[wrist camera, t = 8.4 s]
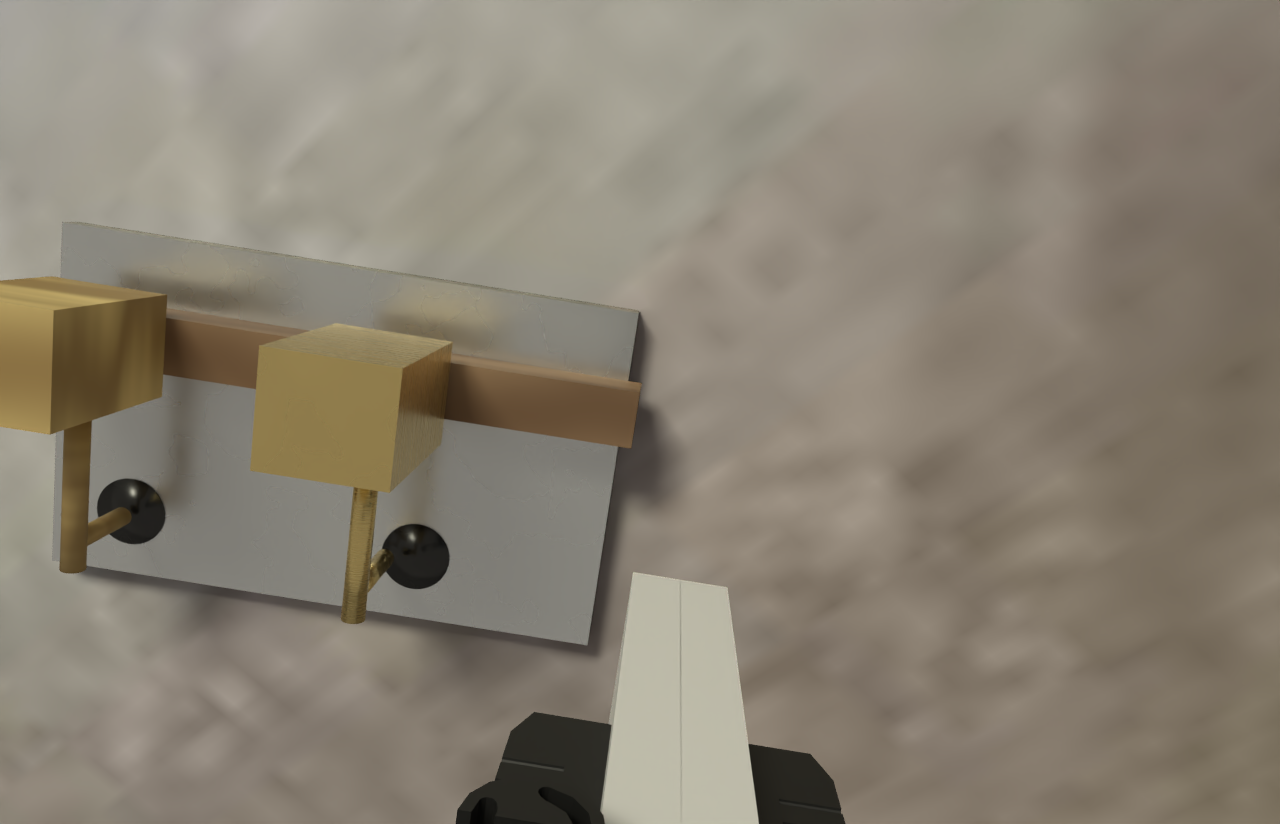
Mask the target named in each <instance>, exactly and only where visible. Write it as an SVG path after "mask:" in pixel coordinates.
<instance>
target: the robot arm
mask: <svg viewBox="0 0 1280 824" xmlns="http://www.w3.org/2000/svg"><path fill="white" fill-rule="evenodd" d="M456 824H845V821H844V817H843V814H841V807H840V803H839V799H838V796H837V792H836V789H835V785H834V781H833V780H832V779H831V777H830V776H829V775H828V774H827V773H826V772H825V770H824V769H823V768H822V767H821V766H820V765H819V764H818V762H817V761H816V760H815V759H814V758H813V757H812V755H811V754H807V753H801V752H795V751H789V750H782V749H776V748H770V747H764V746H758V745H752V744H748V738H747V731H746V724H745V716H744V709H743V701H742V694H741V686H740V679H739V671H738V664H737V656H736V649H735V641H734V634H733V627H732V619H731V612H730V604H729V597H728V589H727V587H722V586H716V585H709V584H703V583H697V582H691V581H685V580H678V579H672V578H666V577H660V576H654V575H647V574H641V573H635V572H633V577H632V583H631V589H630V595H629V601H628V607H627V614H626V620H625V626H624V632H623V638H622V644H621V651H620V657H619V663H618V669H617V675H616V681H615V688H614V694H613V700H612V706H611V712H610V719H609V724H604V723H598V722H592V721H586V720H580V719H573V718H567V717H561V716H555V715H549V714H543V713H537V712H534V713H533V714H531V715H530V716H529V717H528V718H527V719H525V720H524V721H523V722H522V723H520V724H519V725H518V726H517V727H516V728H514V729H513V730H512V731H511V732H510V736H509V739H508V742H507V745H506V748H505V751H504V754H503V757H502V762H501V763H500V766H499V769H498V772H497V775H496V778H495V781H492V782H489V783H487V784H485V785H483V786H482V787H480V788H478V789H476V790H474V791H473V792H471V793H469V795H468V796H467V797H466V799H465V800H464V802H463V803H462V804H461V806H460V807H459V808H458V810H457V818H456Z"/></svg>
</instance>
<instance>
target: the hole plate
mask: <svg viewBox="0 0 1280 824" xmlns="http://www.w3.org/2000/svg"><path fill="white" fill-rule="evenodd" d="M61 278H65V279H71V280H78V281H84V282H90V283H97V284H103V285H109V286H116V287H122V288H128V289H135V290H141V291H147V292H153V293H160V294H166V295H167V308H170V309H177V310H183V311H189V312H195V313H202V314H208V315H214V316H221V317H227V318H233V319H240V320H246V321H252V322H259V323H265V324H271V325H278V326H284V327H290V328H297V329H303V330H309V331H311V330H315V329H318V328H322V327H325V326H328V325H332V324H335V323H338V324H344V325H350V326H357V327H363V328H369V329H376V330H382V331H388V332H395V333H401V334H407V335H413V336H420V337H426V338H432V339H439V340H445V341H451V342H453V345H452V353H454V354H461V355H467V356H473V357H480V358H486V359H492V360H499V361H505V362H511V363H518V364H524V365H530V366H537V367H543V368H549V369H556V370H562V371H568V372H575V373H581V374H587V375H593V376H600V377H606V378H612V379H619V380H625V381H629V375H630V369H631V362H632V356H633V350H634V343H635V337H636V330H637V324H638V317H639V311H638V310H632V309H626V308H619V307H613V306H607V305H600V304H594V303H588V302H581V301H575V300H569V299H562V298H556V297H550V296H543V295H537V294H531V293H524V292H518V291H512V290H506V289H499V288H493V287H487V286H480V285H474V284H468V283H461V282H455V281H449V280H442V279H436V278H430V277H423V276H417V275H411V274H404V273H398V272H392V271H385V270H379V269H373V268H366V267H360V266H354V265H347V264H341V263H335V262H328V261H322V260H316V259H309V258H303V257H297V256H291V255H284V254H278V253H272V252H265V251H259V250H253V249H246V248H240V247H234V246H227V245H221V244H215V243H208V242H202V241H196V240H189V239H183V238H177V237H170V236H164V235H158V234H151V233H145V232H139V231H132V230H126V229H120V228H113V227H107V226H101V225H94V224H88V223H82V222H62V246H61ZM255 396H256V389H251V388H245V387H239V386H232V385H226V384H220V383H214V382H207V381H201V380H195V379H188V378H182V377H176V376H169V375H163V387H162V397H160V398H157V399H154V400H151V401H148V402H145V403H142V404H139V405H136V406H133V407H130V408H127V409H124V410H121V411H118V412H115V413H112V414H109V415H107V416H104V417H101V418H98V419H95V420H92V432H91V459H90V485H89V512H88V523H89V522H91V521H93V520H95V519H97V518H99V517H101V516H103V515H105V514H107V513H109V512H111V511H113V510H115V509H117V508H119V507H124V508H126V509H128V510H129V511H130V513H131V516H132V518H131V521H130V523H128V524H127V525H125V526H123V527H121V528H120V529H118V530H116V531H114V532H112V533H110V534H109V535H107V536H105V537H103V538H101V539H99V540H98V541H96V542H94V543H92V544H90V545H89V546H87V566H91V567H97V568H104V569H110V570H116V571H123V572H129V573H135V574H141V575H148V576H154V577H160V578H167V579H173V580H179V581H186V582H192V583H198V584H204V585H211V586H217V587H223V588H230V589H236V590H242V591H248V592H255V593H261V594H267V595H274V596H280V597H286V598H292V599H299V600H305V601H311V602H318V603H324V604H330V605H336V606H342V601H343V591H344V581H345V570H346V560H347V549H348V539H349V529H350V518H351V508H352V498H353V487H349V486H343V485H337V484H330V483H324V482H318V481H311V480H305V479H299V478H292V477H286V476H280V475H273V474H267V473H261V472H255V471H250V464H251V451H252V437H253V423H254V410H255ZM63 441H64V430H62V431H59V432H56V449H55V483H54V517H53V551H52V560H53V561H60V537H61V505H62V473H63ZM617 453H618V447H617V446H611V445H605V444H598V443H592V442H586V441H580V440H573V439H567V438H561V437H554V436H548V435H542V434H535V433H529V432H523V431H516V430H510V429H504V428H498V427H491V426H485V425H479V424H472V423H466V422H460V421H453V420H447V419H444V423H443V432H442V441H441V445H440V446H439V447H438V448H437V449H435V450H434V451H433V452H432V453H431V454H430V455H429V456H428V457H427V458H426V459H425V460H424V461H423V462H422V463H421V464H420V465H419V466H418V467H417V468H415V469H414V470H413V471H412V472H411V473H410V474H409V475H408V476H407V477H406V478H405V479H404V480H403V481H402V482H401V483H400V484H399V485H398V486H396V487H395V488H394V489H393V490H392V491H391V492H390V493H387V492H381V491H378V498H377V508H376V518H375V527H374V537H373V547H372V557H371V559H372V558H373V557H374V555H375V554H376V553H377V552H378V551H379V550H381V549H387V550H390V551H391V552H392V553H393V555H394V562H393V563H392V565H391V566H390V567H389V568H388V569H387V571H386V572H385V573H384V574H383V575H382V577H381V578H380V579H379V580H378V581H377V583H376V584H375V585H374V586H373V588H372V589H371V590H370V591H369V592H368V596H367V606H366V610H368V611H374V612H381V613H387V614H393V615H399V616H406V617H412V618H418V619H425V620H431V621H437V622H443V623H450V624H456V625H462V626H469V627H475V628H481V629H487V630H494V631H500V632H506V633H513V634H519V635H525V636H531V637H538V638H544V639H550V640H557V641H563V642H569V643H576V644H582V645H587V644H588V640H589V635H590V628H591V622H592V615H593V609H594V602H595V596H596V589H597V583H598V576H599V570H600V563H601V557H602V550H603V544H604V537H605V531H606V524H607V518H608V511H609V505H610V499H611V492H612V486H613V479H614V473H615V466H616V460H617Z"/></svg>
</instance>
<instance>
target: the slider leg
mask: <svg viewBox="0 0 1280 824" xmlns="http://www.w3.org/2000/svg"><path fill="white" fill-rule="evenodd" d="M452 345H453V342H451V341H445V340H439V339H432V338H426V337H420V336H413V335H407V334H401V333H395V332H388V331H382V330H376V329H369V328H363V327H357V326H350V325H344V324H338V323H335V324H332V325H328V326H325V327H322V328H318V329H315V330H311V331H308V332H304V333H301V334H298V335H294V336H291V337H287V338H284V339H280V340H277V341H274V342H270V343H267V344H263V345H260V346H259V355H258V368H257V382H256V396H255V410H254V423H253V437H252V451H251V464H250V471H255V472H261V473H267V474H273V475H280V476H286V477H292V478H299V479H305V480H311V481H318V482H324V483H330V484H337V485H343V486H349V487H353V498H352V508H351V518H350V529H349V539H348V549H347V560H346V570H345V581H344V591H343V601H342V612H341V620H342V621H343V622H345V623H348V624H358V623H362V622H364V621H365V616H366V606H367V596H368V592H369V591H370V590H371V589H372V588H373V586H374V585H375V584H376V583H377V581H378V580H379V579H380V578H381V577H382V575H383V574H384V573H385V572H386V571H387V569H388V568H389V567H390V566H391V565H392V563H393V562H394V555H393V553H392V552H391V551H390V550H387V549H381V550H379V551H378V552H377V553H376V554H375V555H374V557H373V558H372V559H371V557H372V547H373V537H374V527H375V518H376V508H377V498H378V491H381V492H387V493H390V492H391V491H392V490H393V489H394V488H395V487H396V486H398V485H399V484H400V483H401V482H402V481H403V480H404V479H405V478H406V477H407V476H408V475H409V474H410V473H411V472H412V471H413V470H414V469H415V468H417V467H418V466H419V465H420V464H421V463H422V462H423V461H424V460H425V459H426V458H427V457H428V456H429V455H430V454H431V453H432V452H433V451H434V450H435V449H437V448H438V447H439V446H440V445H441V441H442V432H443V423H444V415H445V406H446V397H447V389H448V380H449V371H450V363H451V354H452Z"/></svg>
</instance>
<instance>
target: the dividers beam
mask: <svg viewBox="0 0 1280 824" xmlns="http://www.w3.org/2000/svg"><path fill="white" fill-rule="evenodd" d="M308 331H309V330H303V329H297V328H290V327H284V326H278V325H271V324H265V323H259V322H252V321H246V320H240V319H233V318H227V317H221V316H214V315H208V314H202V313H195V312H189V311H183V310H177V309H170V308H167V295H166V294H160V293H153V292H147V291H141V290H135V289H128V288H122V287H116V286H109V285H103V284H97V283H90V282H84V281H78V280H71V279H65V278H59V277H40V278H27V279H15V280H3V281H0V427H6V428H12V429H19V430H25V431H31V432H38V433H44V434H53V433H56V432H59V431H62V430H64V441H63V473H62V505H61V537H60V571H61V572H63V573H79V572H83V571H85V570H86V566H87V546H89V545H90V544H92V543H94V542H96V541H98V540H99V539H101V538H103V537H105V536H107V535H109V534H110V533H112V532H114V531H116V530H118V529H120V528H121V527H123V526H125V525H127V524H128V523H130V521H131V518H132V516H131V513H130V511H129V510H128V509H126V508H124V507H119V508H117V509H115V510H113V511H111V512H109V513H107V514H105V515H103V516H101V517H99V518H97V519H95V520H93V521H91V522H89V523H88V512H89V485H90V459H91V432H92V420H95V419H98V418H101V417H104V416H107V415H109V414H112V413H115V412H118V411H121V410H124V409H127V408H130V407H133V406H136V405H139V404H142V403H145V402H148V401H151V400H154V399H157V398H160V397H162V387H163V375H169V376H176V377H182V378H188V379H195V380H201V381H207V382H214V383H220V384H226V385H232V386H239V387H245V388H251V389H256V382H257V368H258V355H259V346H260V345H263V344H267V343H270V342H274V341H277V340H280V339H284V338H287V337H291V336H294V335H298V334H301V333H304V332H308ZM641 384H642V383H638V382H631V381H625V380H619V379H612V378H606V377H600V376H593V375H587V374H581V373H575V372H568V371H562V370H556V369H549V368H543V367H537V366H530V365H524V364H518V363H511V362H505V361H499V360H492V359H486V358H480V357H473V356H467V355H461V354H454V353H452V354H451V363H450V371H449V380H448V389H447V397H446V406H445V415H444V419H447V420H453V421H460V422H466V423H472V424H479V425H485V426H491V427H498V428H504V429H510V430H516V431H523V432H529V433H535V434H542V435H548V436H554V437H561V438H567V439H573V440H580V441H586V442H592V443H598V444H605V445H611V446H617V447H624V448H630V449H631V446H632V441H633V435H634V429H635V422H636V416H637V409H638V403H639V397H640V390H641Z"/></svg>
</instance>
